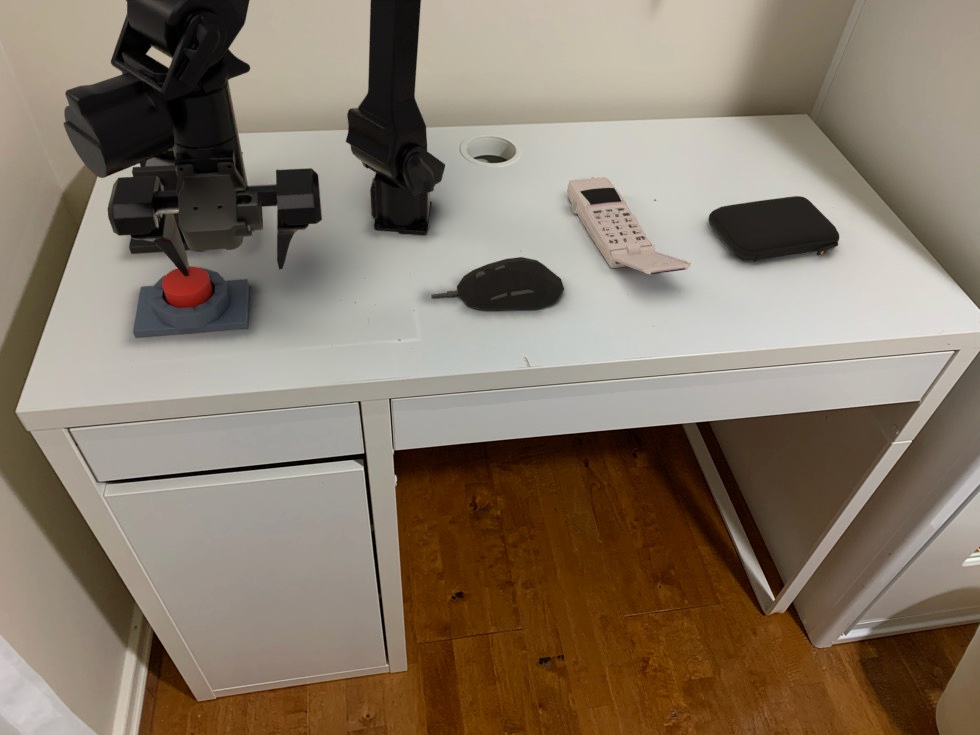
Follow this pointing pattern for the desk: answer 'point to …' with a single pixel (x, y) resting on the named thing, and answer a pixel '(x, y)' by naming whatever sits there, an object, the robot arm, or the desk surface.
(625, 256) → the mobile phone
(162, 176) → the lever bracket
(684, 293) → the desk surface
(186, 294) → the red button
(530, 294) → the gaming mouse
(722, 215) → the carrying case
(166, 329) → the button box
